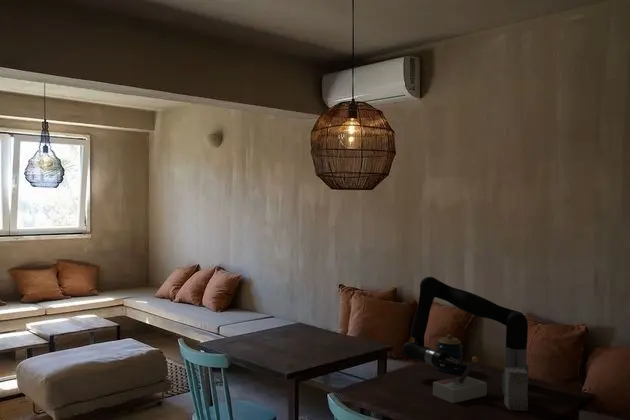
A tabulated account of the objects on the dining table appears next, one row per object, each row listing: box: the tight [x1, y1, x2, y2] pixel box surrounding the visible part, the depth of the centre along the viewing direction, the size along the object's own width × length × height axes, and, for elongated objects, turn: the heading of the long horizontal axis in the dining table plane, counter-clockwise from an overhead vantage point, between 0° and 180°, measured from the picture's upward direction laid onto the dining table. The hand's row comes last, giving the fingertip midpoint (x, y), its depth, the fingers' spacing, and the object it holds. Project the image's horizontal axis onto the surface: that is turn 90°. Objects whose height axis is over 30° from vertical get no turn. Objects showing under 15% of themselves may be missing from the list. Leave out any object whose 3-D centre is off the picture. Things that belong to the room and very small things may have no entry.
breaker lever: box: [459, 356, 479, 383], centre depth 243 cm, size 3×3×15 cm
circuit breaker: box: [501, 366, 529, 411], centre depth 237 cm, size 8×14×15 cm, turn 174°
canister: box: [435, 333, 463, 374], centre depth 286 cm, size 13×13×18 cm
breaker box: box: [432, 375, 488, 404], centre depth 247 cm, size 20×12×6 cm, turn 121°
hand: (465, 368), depth 244 cm, fingers closed
